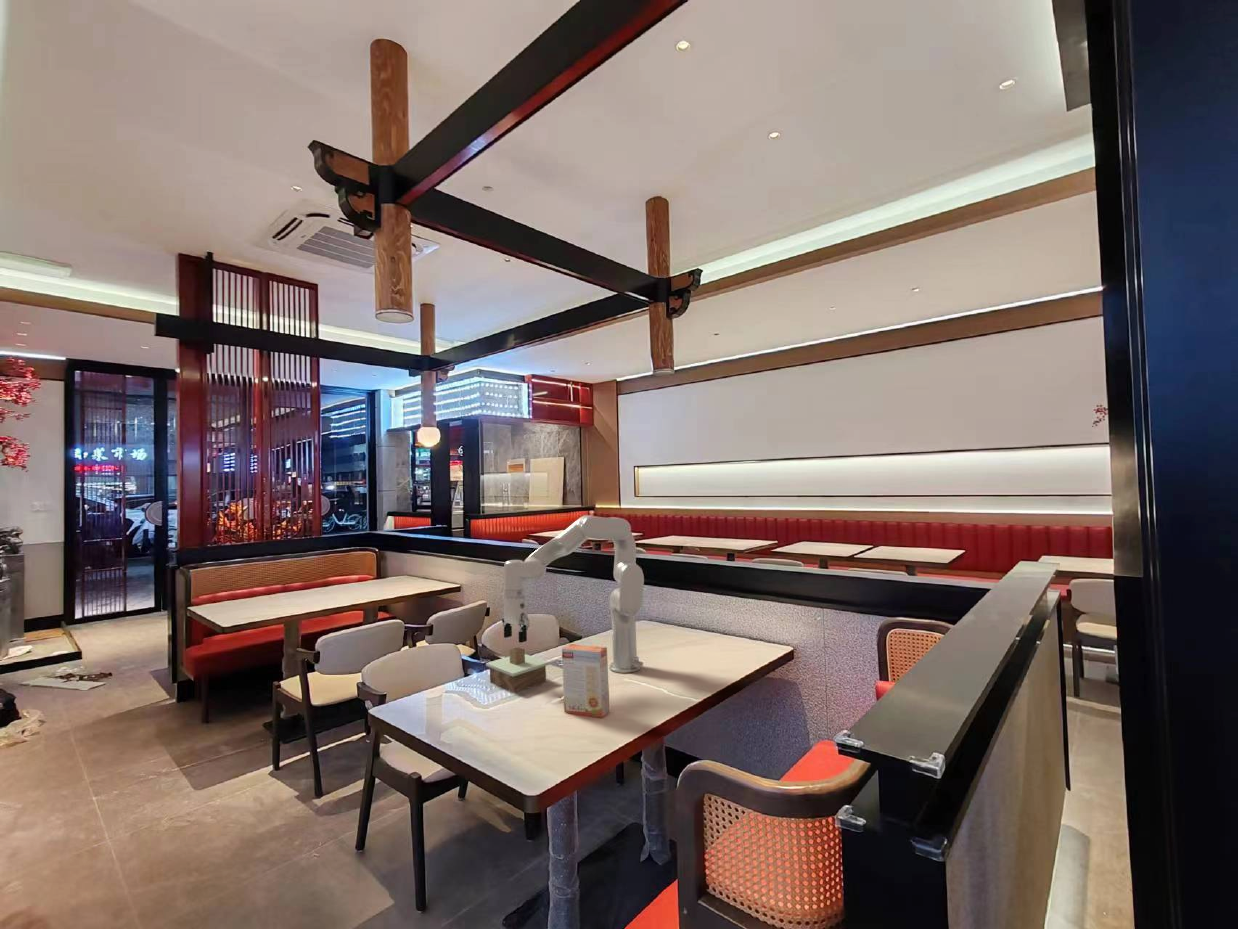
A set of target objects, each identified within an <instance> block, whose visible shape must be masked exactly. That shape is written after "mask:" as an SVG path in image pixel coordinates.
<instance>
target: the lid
mask: <svg viewBox="0 0 1238 929" xmlns="http://www.w3.org/2000/svg"><path fill="white" fill-rule="evenodd" d="M508 650H509V656H506V657H502V658H500V659H495V660H493V661H489V662H486V663H485V666H486V667H488V668H489V669H490V668H493V669H495V670H498V671H500V672H503V673H505V674H508V675H510V676H516V675H519V674H522V673H525V672H528V671H532V670H535V669H538V668H541V667H544V666H546V667H547V666H550V664H549V662H550V661H548V660H544V659H541V658H539V657H536V656H532V655H531V654H526V652H525V648H524V647H520V646H517V647H513V648H510V649H508Z"/></svg>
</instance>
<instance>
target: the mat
mask: <svg viewBox="0 0 1238 929" xmlns="http://www.w3.org/2000/svg"><path fill="white" fill-rule="evenodd" d="M548 662H549V666H550V665H551V666H553V667H557V668H559V669H562V670H563V665H559V664H563V662H562V661H561V660H558V659H555V660H552V661H548ZM557 662H558V663H557ZM561 662H562V663H561Z"/></svg>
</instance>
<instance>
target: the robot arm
mask: <svg viewBox="0 0 1238 929" xmlns="http://www.w3.org/2000/svg"><path fill="white" fill-rule="evenodd" d="M589 539H596V540H607V541H612V542H613V546H614V559H613V560H614V561H613V572H612V574H613V579H614V580H615V582H617V583H618V584H619V587H616V588H615V589H613V591H612V592H611V593H610V596H609V601H608V602H609V610H610V616H611V617H610V618H611V633H612V636H611V638H612V639H611V640H612V660H613V661H612V662H611V663H610V664H609V669H610V671H612V672H614V673H620V674H621V673H623V674H627V673H635V672H636V671H640V669H641V668H642V666H643V665H644V662H643V661H640V657H639V656H638V652H637V630H636V629H637V628H636V627H637V624H636V623H637V622H636V616H637V615H639V613H640V612H641V610H642V607H643V601H644V583H645V577H644V573H643V568H641V566H639V565H638V564H637V563H636V561H637V549H636V548H637V545H636V540H635V538H634V535H633V532H632V526H631V524H630V523H629V521H628V520H626V519H625V518H621V517H614V516H612V517H611V516H610V517H603V516H596V515H588V514H586V515H583V516H579V518H578V519H576V520H575V521H574V522H573V523H572V524H571V525H569V526H568V527H566V528H565V529H564V530H563V531H561V532H560V533H559V534H557V535H556V536H555V537H554V538H552V539H551V540H549V541H548V542H546V543H544V544H543V545H541V546H540V547H538V549H536V550H535V551H534V552H532V553H531V554H530V555H529V556H528V557H526V558H525V560H521V559H510V560H509V559H508V560H507V561H505V562H504V564H503V565H504V566H503V567H504V568H503V574H504V576H503V577H504V578H503V581H504V582H503V584H504V585H503V586H504V588H503V589H504V591H503V592H504V600H503V612H501V613H500V616H501V622H502V627H503V638H504V639H506V638H511V637H512V635H513V634H512V633H513V627H512V626H516V627H518V630H519V631H518V643H519V644H520V643H524V642H527V640H528V639H527V638H528V637H527V634H528V628H529V625H530V623H531V622H530V619H529V614H528V613H529V612H528V604H527V599H526V598H527V597H526V591H525V589H526V588H525V586H526V584H525V583H526V582H525V581H526V580H532V581H534V580H535V581H537V580H539V579H542V578H543V577H544V576H545V575H546V572H547V566H548V565H549V564H550V563H552V562H554V561H555V560H557V559H559V558H562V557H565V556H568V555H570V554H572V553H573V552H574V551H576V549H578V548H579V547H580V546H581V545H582V544H584V543H585V542H586V541H588V540H589Z"/></svg>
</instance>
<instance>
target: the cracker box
mask: <svg viewBox="0 0 1238 929" xmlns="http://www.w3.org/2000/svg"><path fill="white" fill-rule="evenodd" d="M561 652H562V653H561V654H562V656H561V659H562V662H563V669H562V682H563V683H562V684H563V685H562V686H563V709H564V710H563V711H564V713H565V712H566V714H574V715H580V716H587V717H593V718H594V717H595V718H599V719H603V718H604V717H605V716H606V715H607V714H608V713H609V712H610V710H611V709H610V690H609V688H610V687H609V684H610V683H609V664H608V647H607V646H596V645H585V644H577V643H576V644H575V643H570V644H568V645H566V646H565V647H563V648H561Z"/></svg>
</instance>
